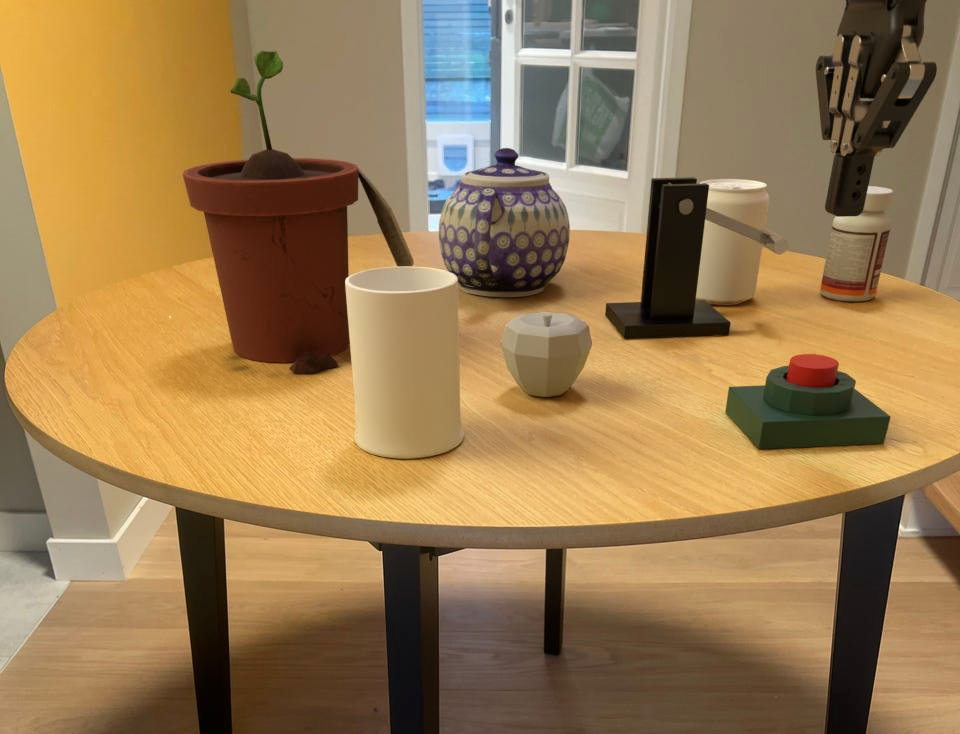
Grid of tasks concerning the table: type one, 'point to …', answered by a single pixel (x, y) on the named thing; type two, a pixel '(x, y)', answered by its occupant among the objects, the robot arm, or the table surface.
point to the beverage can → (731, 242)
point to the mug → (405, 360)
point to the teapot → (504, 230)
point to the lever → (748, 231)
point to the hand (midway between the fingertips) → (842, 214)
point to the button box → (805, 413)
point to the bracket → (671, 268)
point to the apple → (546, 351)
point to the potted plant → (285, 244)
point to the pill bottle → (858, 250)
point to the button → (812, 370)
